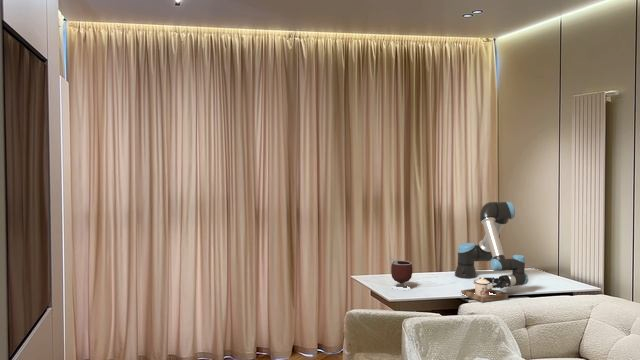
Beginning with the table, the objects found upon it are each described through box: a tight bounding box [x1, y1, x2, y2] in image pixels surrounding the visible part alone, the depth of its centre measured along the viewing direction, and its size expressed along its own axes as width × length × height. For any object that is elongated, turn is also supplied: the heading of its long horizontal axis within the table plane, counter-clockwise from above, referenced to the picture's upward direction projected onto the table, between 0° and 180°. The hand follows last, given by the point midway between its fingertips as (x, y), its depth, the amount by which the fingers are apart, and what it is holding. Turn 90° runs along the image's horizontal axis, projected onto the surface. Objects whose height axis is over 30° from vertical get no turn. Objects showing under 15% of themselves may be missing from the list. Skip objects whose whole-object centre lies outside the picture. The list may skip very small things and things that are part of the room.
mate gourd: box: [390, 256, 413, 288], centre depth 396 cm, size 16×14×20 cm
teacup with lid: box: [474, 276, 492, 297], centre depth 376 cm, size 12×9×12 cm
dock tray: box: [460, 288, 509, 304], centre depth 376 cm, size 20×20×3 cm
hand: (480, 284), depth 374 cm, fingers open, 13 cm apart
